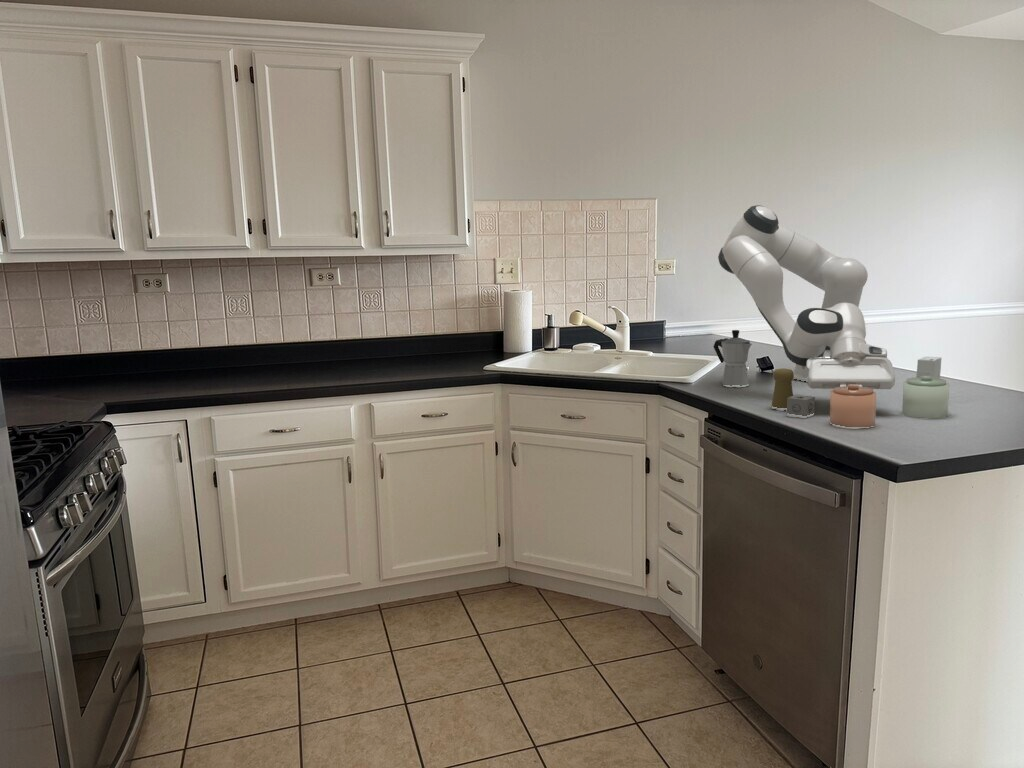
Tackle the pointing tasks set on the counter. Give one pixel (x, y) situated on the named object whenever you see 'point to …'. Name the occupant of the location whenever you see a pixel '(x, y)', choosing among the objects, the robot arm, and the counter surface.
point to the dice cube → (800, 405)
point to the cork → (782, 387)
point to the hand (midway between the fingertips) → (851, 400)
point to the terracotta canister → (853, 406)
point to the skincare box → (929, 367)
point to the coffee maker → (734, 359)
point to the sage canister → (925, 397)
